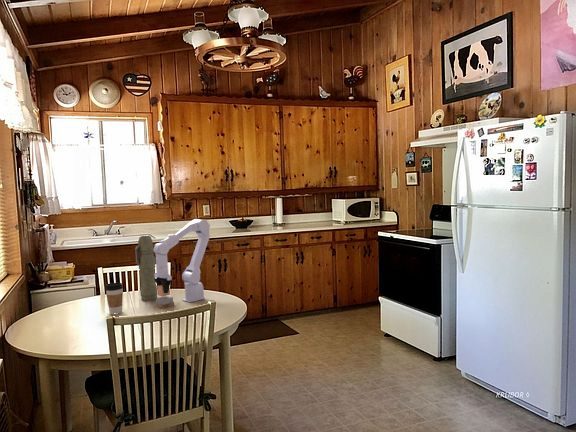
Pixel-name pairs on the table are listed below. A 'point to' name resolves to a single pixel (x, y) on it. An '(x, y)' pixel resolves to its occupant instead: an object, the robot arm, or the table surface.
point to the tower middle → (164, 300)
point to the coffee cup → (114, 297)
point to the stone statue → (146, 268)
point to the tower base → (164, 305)
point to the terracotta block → (161, 292)
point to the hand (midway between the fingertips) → (163, 292)
